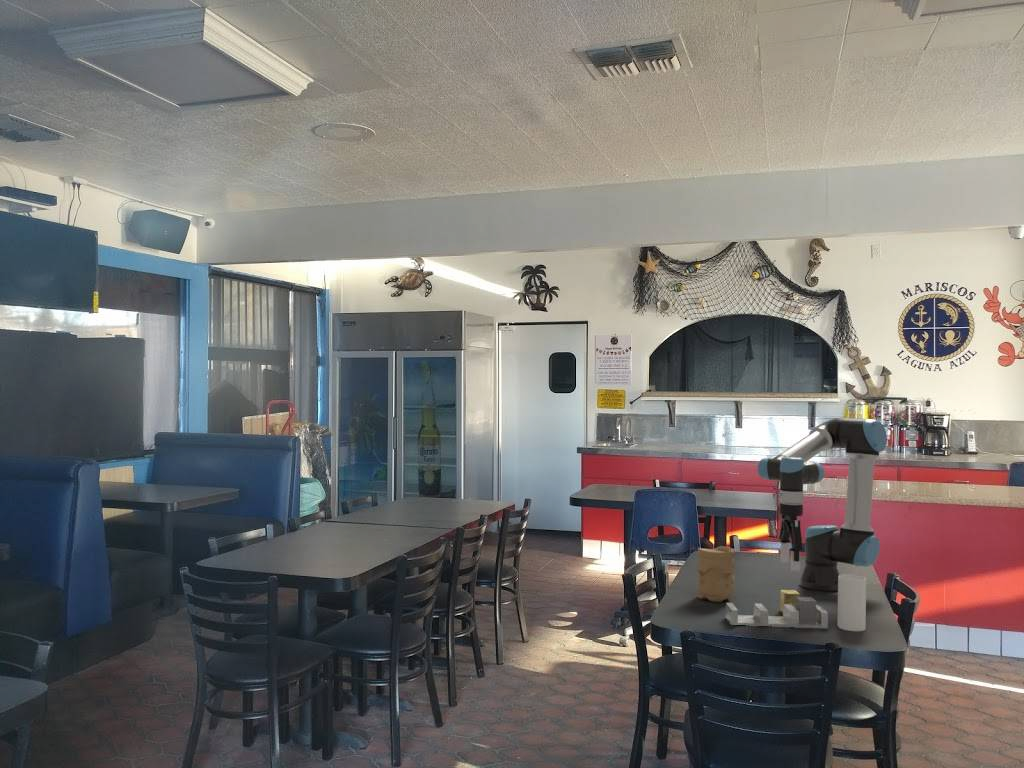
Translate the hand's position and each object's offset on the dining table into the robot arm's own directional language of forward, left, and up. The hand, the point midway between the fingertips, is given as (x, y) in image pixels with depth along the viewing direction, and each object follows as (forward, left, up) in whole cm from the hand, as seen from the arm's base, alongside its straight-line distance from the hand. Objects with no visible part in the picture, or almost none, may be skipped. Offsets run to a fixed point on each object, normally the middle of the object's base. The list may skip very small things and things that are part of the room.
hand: (790, 566), depth 285 cm
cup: (-15, +16, -16) cm, 27 cm away
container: (+22, -15, -16) cm, 31 cm away
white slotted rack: (+8, +13, -16) cm, 22 cm away
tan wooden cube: (0, 0, -16) cm, 16 cm away
